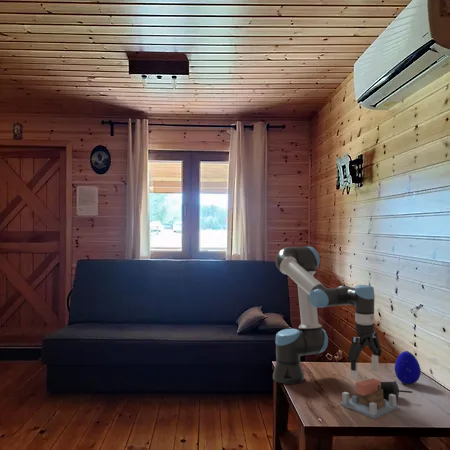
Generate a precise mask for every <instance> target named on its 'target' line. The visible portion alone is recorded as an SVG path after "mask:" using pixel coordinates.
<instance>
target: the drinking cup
mask: <svg viewBox="0 0 450 450" xmlns="http://www.w3.org/2000/svg"><path fill="white" fill-rule="evenodd" d="M381 389H383V399H385V398H386V399H389V395H390V394H394V395H396V401H397V400H398V398H399V396H400V393H408V394H413V390H401V389H400V388H399V385H398V383H397V382H396V381H381Z"/></svg>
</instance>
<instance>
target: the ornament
mask: <svg viewBox="0 0 450 450" xmlns="http://www.w3.org/2000/svg"><path fill="white" fill-rule="evenodd" d="M419 363H420V362H419V361H418V359H417V357H416V356H415V355H414V354H413V353H412V352H410V351H408V350H404V351H402V352H401V353H400V354H398V356H397V358H396V360H395V363H394V373H395V376H396V378H397V380H399V381H400V382H401V383H403V384H406V385H413V384H415V383H417V382H418V380H420V377H421V374H422V372H421V365H420V364H419Z"/></svg>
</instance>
